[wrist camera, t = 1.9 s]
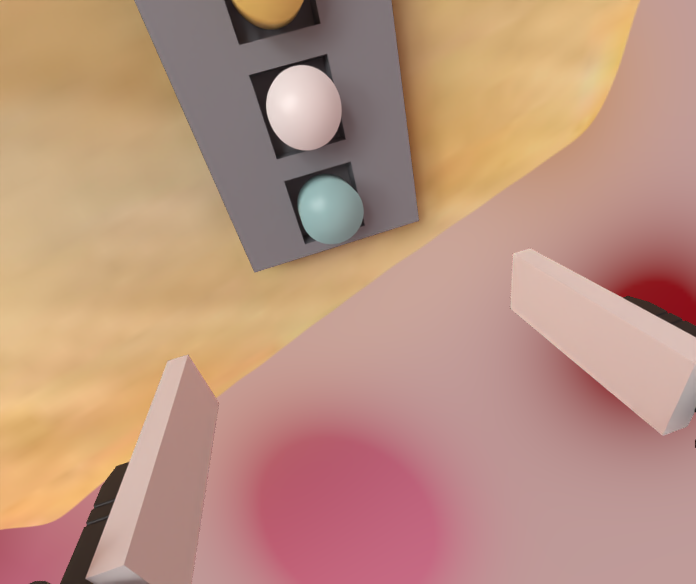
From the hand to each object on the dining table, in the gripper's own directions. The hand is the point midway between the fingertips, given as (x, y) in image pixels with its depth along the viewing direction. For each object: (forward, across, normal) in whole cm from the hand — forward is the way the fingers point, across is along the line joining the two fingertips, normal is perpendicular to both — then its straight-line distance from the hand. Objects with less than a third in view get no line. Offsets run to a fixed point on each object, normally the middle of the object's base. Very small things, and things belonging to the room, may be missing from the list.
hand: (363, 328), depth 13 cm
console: (+17, +1, +8) cm, 19 cm away
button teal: (+15, +1, +1) cm, 15 cm away
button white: (+15, +1, +7) cm, 16 cm away
